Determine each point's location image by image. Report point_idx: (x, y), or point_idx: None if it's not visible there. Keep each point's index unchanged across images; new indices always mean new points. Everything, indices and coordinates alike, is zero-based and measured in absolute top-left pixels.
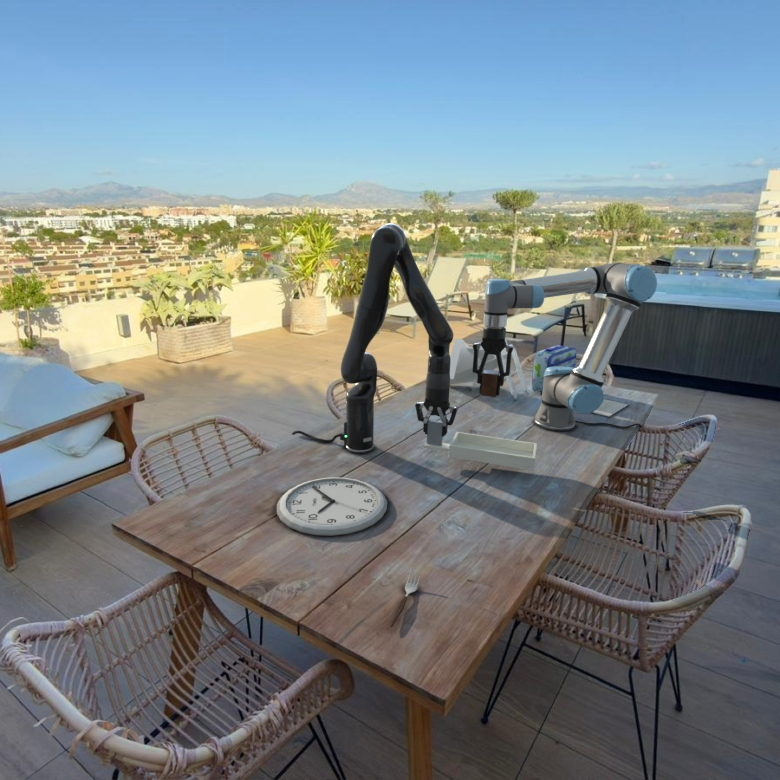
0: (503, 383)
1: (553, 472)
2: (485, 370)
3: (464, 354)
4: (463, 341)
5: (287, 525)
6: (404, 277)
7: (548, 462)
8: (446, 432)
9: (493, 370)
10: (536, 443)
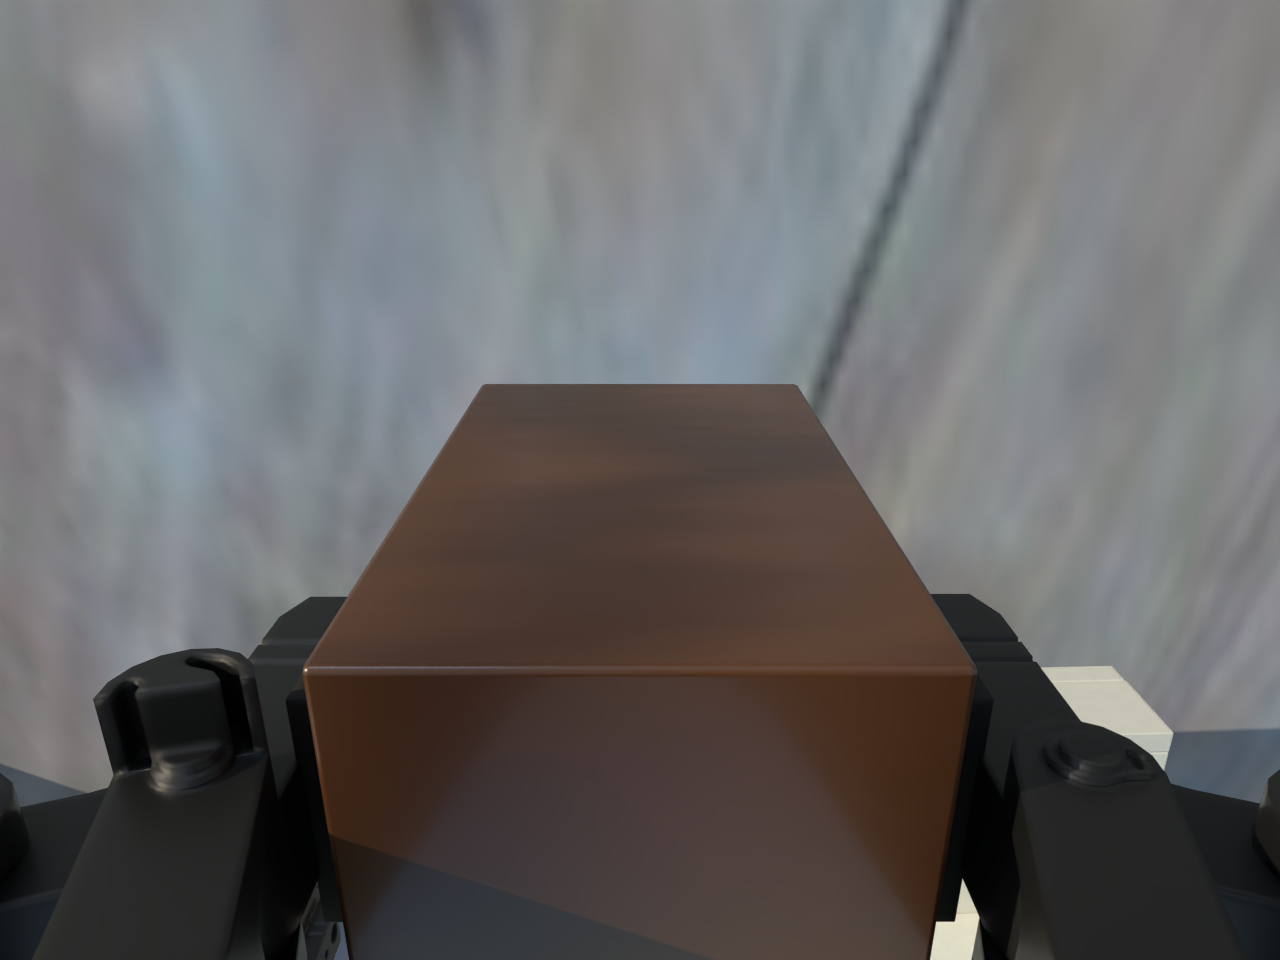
0: (1002, 637)
1: (1193, 671)
2: (366, 800)
3: None
4: None
5: None
6: None
7: (1188, 519)
8: (335, 946)
9: (700, 682)
10: (1167, 739)
